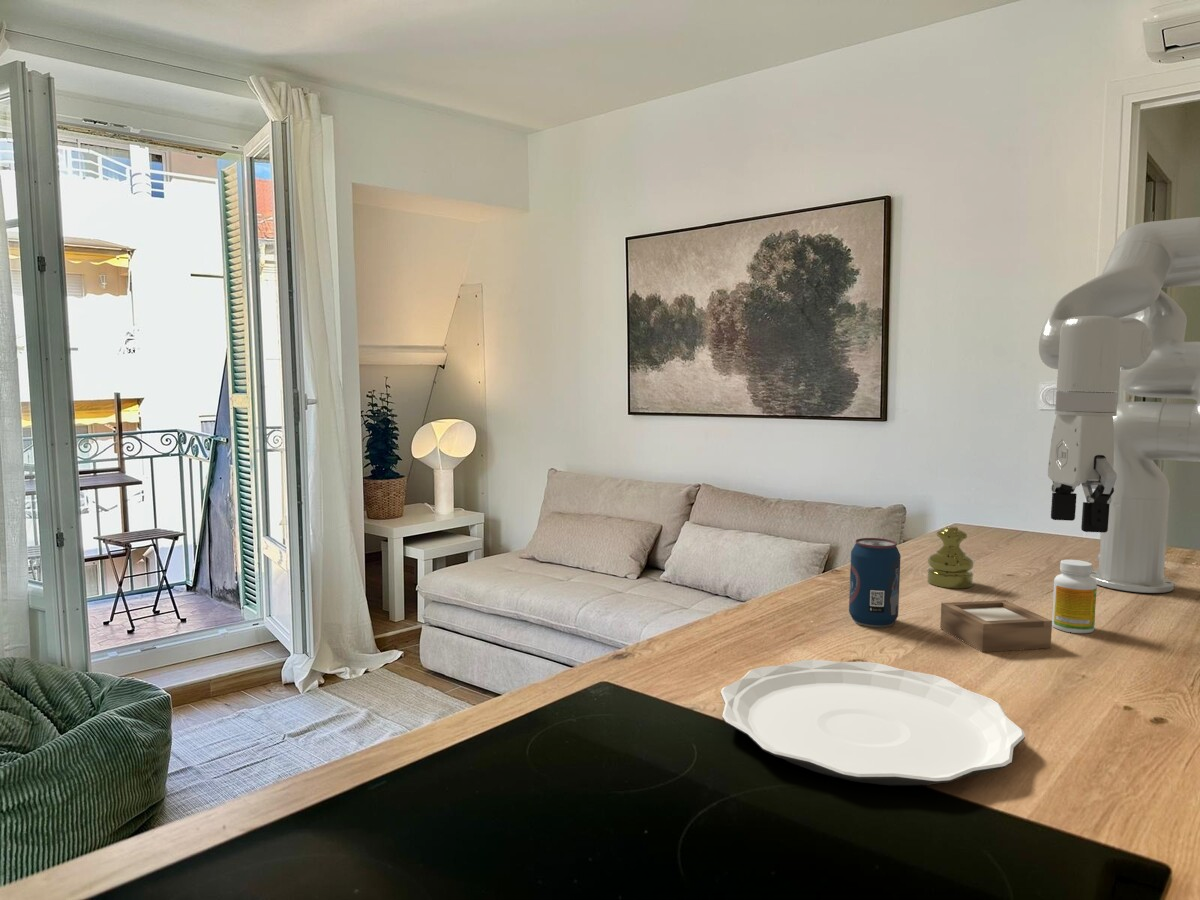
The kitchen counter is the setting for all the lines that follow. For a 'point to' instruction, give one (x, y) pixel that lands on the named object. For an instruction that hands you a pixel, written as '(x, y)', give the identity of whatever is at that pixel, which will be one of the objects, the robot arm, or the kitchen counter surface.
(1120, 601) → the kitchen counter surface
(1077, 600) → the supplement bottle
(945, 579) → the green chess piece
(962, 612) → the picture frame
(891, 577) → the soda can
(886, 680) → the plate
